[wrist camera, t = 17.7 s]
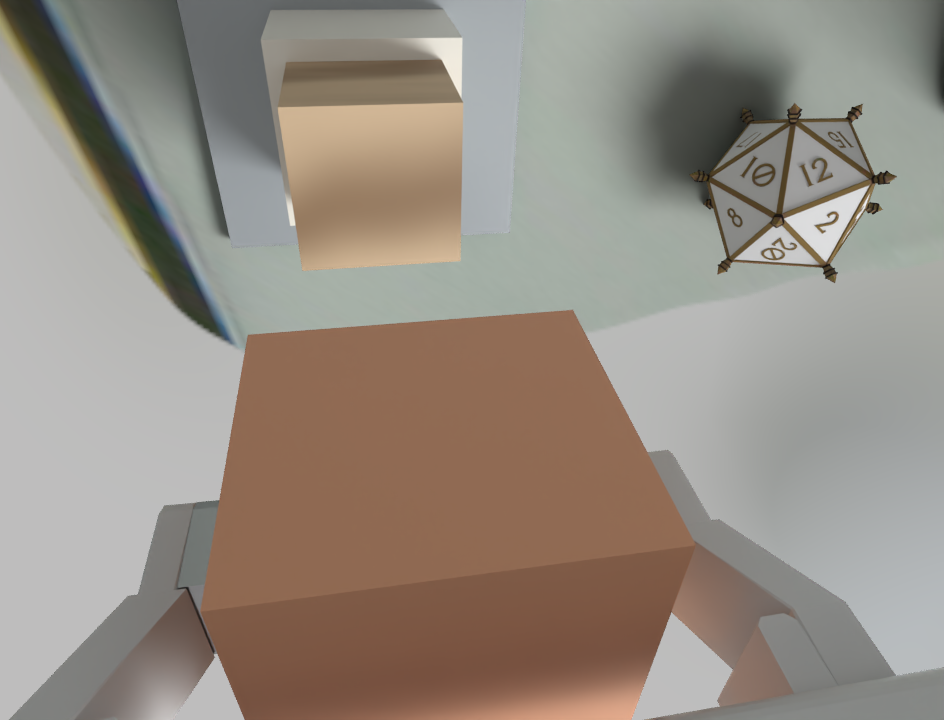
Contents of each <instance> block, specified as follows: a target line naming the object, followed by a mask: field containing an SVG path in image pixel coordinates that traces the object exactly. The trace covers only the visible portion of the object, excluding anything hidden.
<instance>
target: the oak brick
mask: <svg viewBox="0 0 944 720" xmlns="http://www.w3.org/2000/svg"><path fill="white" fill-rule="evenodd" d="M278 114H279V120H280V127H281V133H282V140H283V146H284V153H285V159H286V166H287V172H288V179H289V186H290V192H291V199H292V205H293V212H294V218H295V225H296V231H297V238H298V244H299V251H300V258H301V264H302V271H307V270H323V269H339V268H355V267H371V266H388V265H404V264H420V263H436V262H453V261H460V253H461V199H462V146H463V101H462V99H461V97H460V95H459V93H458V91H457V89H456V87H455V85H454V83H453V81H452V79H451V77H450V75H449V73H448V71H447V69H446V67H445V65H444V63H443V61H442V60H385V61H320V62H286V65H285V71H284V76H283V81H282V86H281V92H280V97H279V102H278Z"/></svg>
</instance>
